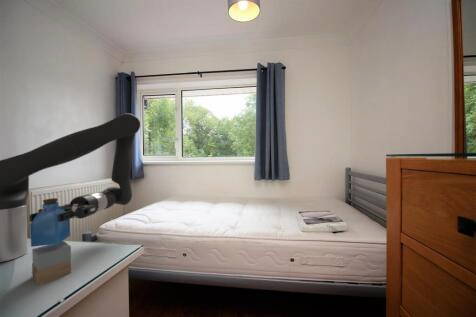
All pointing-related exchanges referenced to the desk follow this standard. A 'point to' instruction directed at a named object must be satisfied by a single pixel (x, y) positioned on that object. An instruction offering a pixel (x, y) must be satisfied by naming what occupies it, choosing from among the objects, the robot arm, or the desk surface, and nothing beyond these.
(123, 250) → the desk surface
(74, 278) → the desk surface
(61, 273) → the tower base block
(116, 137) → the robot arm
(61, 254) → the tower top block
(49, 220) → the perfume bottle
